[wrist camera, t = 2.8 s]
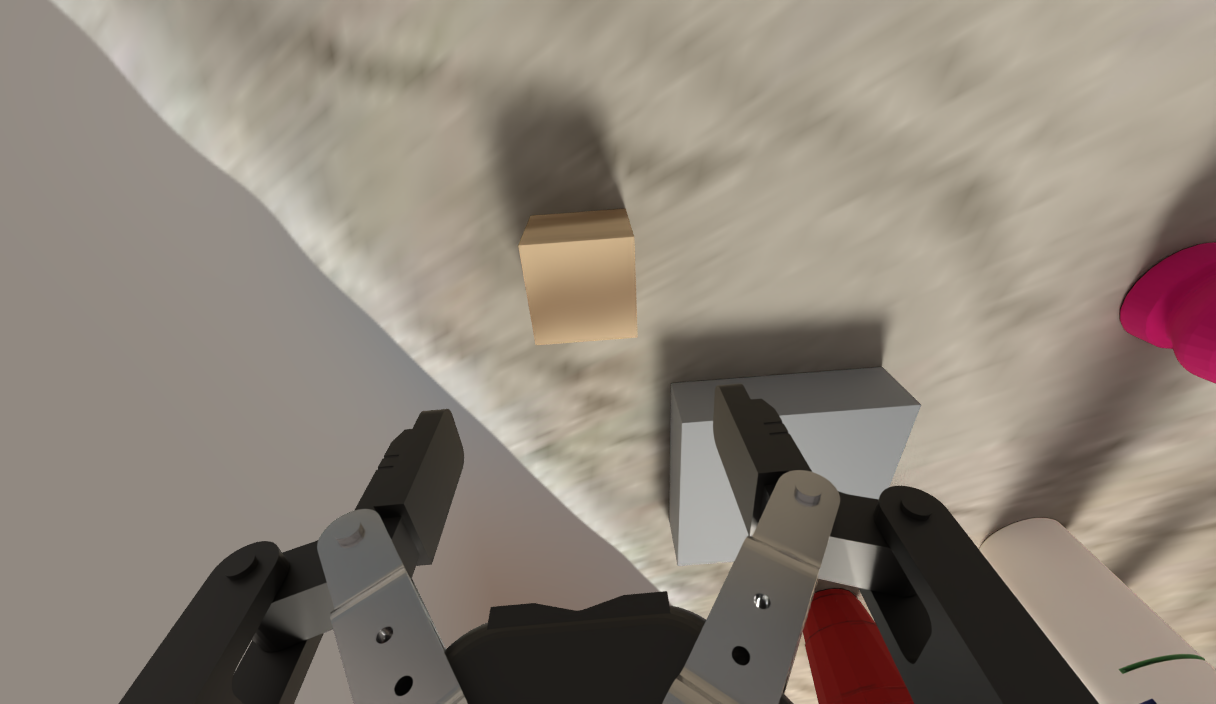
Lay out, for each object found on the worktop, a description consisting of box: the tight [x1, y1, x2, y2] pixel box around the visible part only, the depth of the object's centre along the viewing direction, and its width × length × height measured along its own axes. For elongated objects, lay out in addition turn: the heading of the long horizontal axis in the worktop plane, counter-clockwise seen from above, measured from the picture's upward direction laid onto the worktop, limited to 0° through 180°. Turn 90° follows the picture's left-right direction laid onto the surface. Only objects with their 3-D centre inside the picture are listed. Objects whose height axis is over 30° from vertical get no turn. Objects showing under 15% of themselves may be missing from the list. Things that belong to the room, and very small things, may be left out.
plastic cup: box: [803, 589, 914, 704], centre depth 39 cm, size 11×11×12 cm
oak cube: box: [518, 209, 637, 345], centre depth 23 cm, size 5×5×5 cm
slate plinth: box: [669, 367, 921, 566], centre depth 31 cm, size 14×14×4 cm
